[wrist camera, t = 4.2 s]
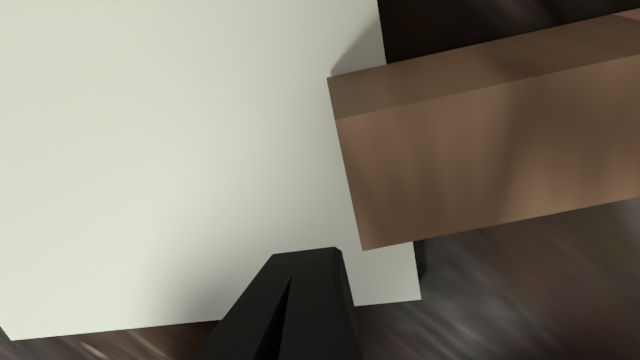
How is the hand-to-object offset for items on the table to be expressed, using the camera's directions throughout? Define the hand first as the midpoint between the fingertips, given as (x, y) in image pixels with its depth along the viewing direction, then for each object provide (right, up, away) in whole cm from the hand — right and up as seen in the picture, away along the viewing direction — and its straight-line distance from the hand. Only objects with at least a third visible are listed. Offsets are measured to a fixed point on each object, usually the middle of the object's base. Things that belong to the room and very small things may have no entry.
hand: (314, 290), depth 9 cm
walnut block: (+1, +3, +5) cm, 6 cm away
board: (-7, +3, +9) cm, 12 cm away
